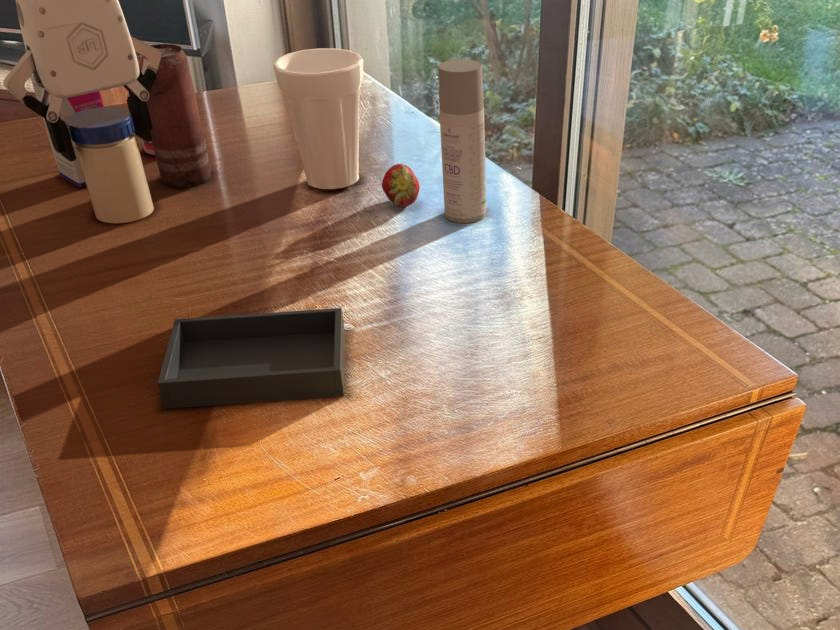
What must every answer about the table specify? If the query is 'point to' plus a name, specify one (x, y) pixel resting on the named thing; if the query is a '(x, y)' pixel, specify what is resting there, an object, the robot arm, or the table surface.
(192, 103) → the can
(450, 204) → the container
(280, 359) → the tray
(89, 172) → the jar
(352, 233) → the table surface
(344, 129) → the cup
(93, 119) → the lid
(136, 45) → the robot arm
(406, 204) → the fruit
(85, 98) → the supplement box
